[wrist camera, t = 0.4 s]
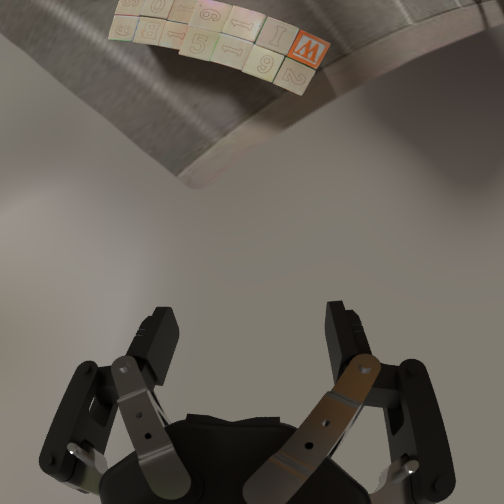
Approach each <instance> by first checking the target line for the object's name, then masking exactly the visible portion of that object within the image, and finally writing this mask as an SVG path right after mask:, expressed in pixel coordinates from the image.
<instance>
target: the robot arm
mask: <svg viewBox="0 0 504 504" xmlns="http://www.w3.org/2000/svg"><path fill="white" fill-rule="evenodd" d="M325 336H326V341H327V346H328V351H329V357H330V362H331V367H332V373H333V379H334V384H335V386H334V387H333V389H332V390H331V391H330V392H329V391H328V392H327V393H326V394H325V395H324V396H323V397H322V399H321V400H320V401H319V403H318V404H317V405H316V407H315V408H314V409H313V410H312V412H311V413H310V414H309V416H308V417H307V418H306V419H305V421H304V422H303V423H302V424H301V425H300V427H299V428H296V427H294V426H291V425H288V424H285V423H280V417H255V418H250V419H245V420H240V421H235V422H229V421H226V420H222V419H218V418H215V417H212V416H209V415H197V414H187V417H186V419H185V420H180V421H177V422H174V423H172V424H171V422H170V421H169V419H168V418H167V416H166V414H165V412H164V410H163V408H162V406H161V404H160V402H159V400H158V398H157V396H156V394H155V392H154V387H155V385H159V386H163V384H164V381H165V378H166V375H167V371H168V369H169V365H170V363H171V360H172V357H173V354H174V351H175V348H176V345H177V342H178V339H179V327H178V325H177V322H176V319H175V316H174V313H173V310H172V308H171V307H156V309H155V311H154V312H153V314H152V316H148V317H147V318H146V319H145V320H144V321H143V322H142V323H141V325H140V327H139V330H138V331H137V333H136V336H135V337H134V339H133V341H132V343H131V345H130V347H129V349H128V351H127V353H126V355H125V356H121V357H119V358H117V359H116V360H115V361H114V362H113V363H112V365H111V366H105V367H98V366H97V364H96V363H95V362H94V361H85V362H83V363H81V364H80V365H79V366H78V367H77V369H76V371H75V373H74V375H73V377H72V379H71V381H70V383H69V385H68V388H67V390H66V392H65V394H64V396H63V398H62V401H61V403H60V405H59V407H58V410H57V412H56V414H55V417H54V419H53V422H52V424H51V427H50V429H49V432H48V434H47V437H46V439H45V442H44V445H43V448H42V451H41V453H40V456H39V465H40V467H41V469H42V470H43V471H44V472H45V473H46V474H48V475H50V476H51V477H53V478H55V479H56V480H58V481H59V482H61V483H63V484H65V485H67V486H68V487H70V488H73V489H76V490H78V491H80V492H82V493H92V494H95V495H97V496H100V499H101V503H102V504H435V503H438V502H440V501H443V500H445V499H446V498H447V497H448V496H449V495H450V494H451V493H452V492H453V490H454V488H455V483H456V479H455V473H454V467H453V462H452V457H451V452H450V447H449V443H448V439H447V435H446V431H445V427H444V423H443V419H442V416H441V413H440V409H439V406H438V402H437V399H436V396H435V393H434V390H433V387H432V384H431V381H430V378H429V375H428V372H427V370H426V367H425V365H424V364H423V363H422V362H420V361H419V360H416V359H407V360H405V361H403V362H402V363H401V364H400V366H395V365H387V364H383V363H380V361H379V360H378V359H377V358H376V357H375V356H373V355H372V353H371V350H370V347H369V344H368V341H367V338H366V335H365V332H364V329H363V326H362V325H361V321H360V318H359V316H358V315H357V314H356V313H355V312H354V311H353V310H345V307H344V305H343V302H342V301H331V302H327V308H326V318H325ZM93 398H94V401H93V403H92V406H91V408H90V411H89V407H90V405H91V402H92V400H93ZM118 406H119V409H120V412H121V415H122V418H123V420H124V423H125V426H126V429H127V431H128V434H129V436H130V439H131V441H132V443H133V446H134V448H135V451H134V452H132V453H131V454H129V455H128V456H126V457H125V458H124V459H122V460H121V461H120V462H118V463H117V464H115V465H114V466H112V467H111V468H110V469H108V467H107V461H106V458H105V457H104V452H105V449H106V445H107V441H108V438H109V435H110V431H111V428H112V425H113V422H114V419H115V415H116V412H117V409H118ZM364 406H372V407H382V408H383V411H384V417H385V422H386V429H387V435H388V442H389V449H390V456H391V464H390V465H389V466H388V467H387V468H386V469H385V470H384V471H383V472H382V473H381V475H380V478H379V484H378V487H377V489H376V490H375V492H374V493H372V494H368V492H367V491H366V489H365V488H364V487H363V486H362V485H360V484H359V483H358V482H357V481H356V480H355V479H353V478H352V477H351V476H350V475H349V474H348V473H346V472H345V471H344V470H343V469H342V468H341V467H340V466H339V465H338V464H337V463H335V462H334V461H333V460H332V459H331V457H332V456H333V455H334V453H335V452H336V451H337V449H338V447H339V446H340V445H341V443H342V442H343V440H344V438H345V437H346V435H347V434H348V432H349V430H350V429H351V427H352V426H353V424H354V422H355V421H356V419H357V418H358V416H359V414H360V412H361V411H362V409H363V408H364Z"/></svg>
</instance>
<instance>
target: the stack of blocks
mask: <svg viewBox="0 0 504 504" xmlns="http://www.w3.org/2000/svg"><path fill="white" fill-rule="evenodd" d="M108 39H109V40H121V41H132V42H136V43H143V44H150V45H157V46H161V47H167V48H173V49H178V50H179V55H184V56H188V57H193V58H197V59H201V60H205V61H212V62H215V63H219V64H222V65H226V66H229V67H232V68H235V69H239V70H241V71H242V72H244V73H247V74H249V75H252V76H255V77H258V78H261V79H263V80H266V81H268V82H272V83H273V84H275V85H277V86H280V87H282V88H284V89H287V90H289V91H291V92H293V93H296V94H298V95H301V96H302V95H303V93H304V91H305V89H306V88H307V86H308V84H309V82H310V81H311V79H312V77H313V76H314V74H315V72H316V71H315V69H317V68H318V66H319V65H320V63H321V61H322V59H323V58H324V56H325V54H326V52H327V51H328V49H329V47H330V45H331V44H330V43H328V42H326V41H324V40H322V39H320V38H318V37H316V36H314V35H312V34H310V33H308V32H305V31H303V30H300V29H299V28H297V27H295V26H292V25H290V24H287V23H285V22H282V21H279V20H277V19H274V18H271V17H267V16H266V15H265V14H262V13H259V12H256V11H252V10H249V9H246V8H242V7H239V6H234V5H230V4H226V3H222V2H217V1H213V0H119V3H118V5H117V8H116V11H115V16H114V19H113V22H112V26H111V30H110V33H109V37H108Z"/></svg>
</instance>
